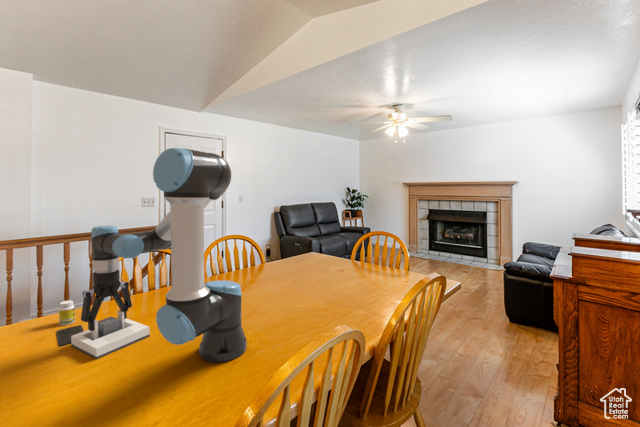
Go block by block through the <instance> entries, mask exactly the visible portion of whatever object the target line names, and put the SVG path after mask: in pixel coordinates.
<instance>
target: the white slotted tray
mask: <svg viewBox="0 0 640 427" xmlns="http://www.w3.org/2000/svg"><path fill="white" fill-rule="evenodd" d="M124 324H125V328H124V329H120V330H119V331H116V332H114V333H111V334H108V335H106V336H103V337H101V338H98V339H95V340H94V339H92V334H91V331H89V329H87V330H83V331H84V332H81V333H78V334H76V335H73V336H71V344H70V345H71V347H73V348H75V349H76V350H78V351H80V352H82V353H84V354H85V355H88V356H90V357H91V358H93V359H95V360H99V359H101V358H104V357H105V356H108V355H110V354H112V353H114V352H117V351H119V350H122V349H124V348H127V347H128V346H130V345H132V344H135V343H137V342H139V341H142V340H144V339H147V338H148V337H150V335H151V334H150V332H151V331H150V330H151V329H150V326H148V325H145V324H143V323H140V322H138V321H135V320H132V319H129V318H127V317H126V319H124Z"/></svg>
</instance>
